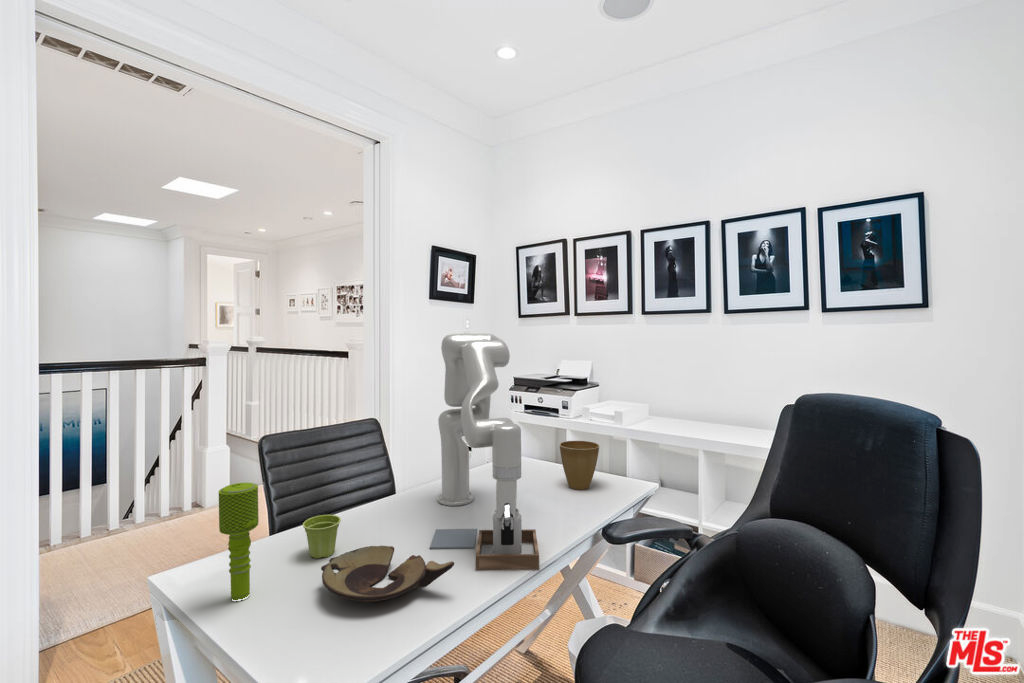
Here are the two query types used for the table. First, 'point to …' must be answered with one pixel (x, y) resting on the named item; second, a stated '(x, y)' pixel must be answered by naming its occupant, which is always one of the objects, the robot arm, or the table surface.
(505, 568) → the box frame
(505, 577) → the table surface
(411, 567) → the broken ceramic bowl
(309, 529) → the plant pot
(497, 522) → the can
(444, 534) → the mat
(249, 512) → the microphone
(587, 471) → the plant pot
